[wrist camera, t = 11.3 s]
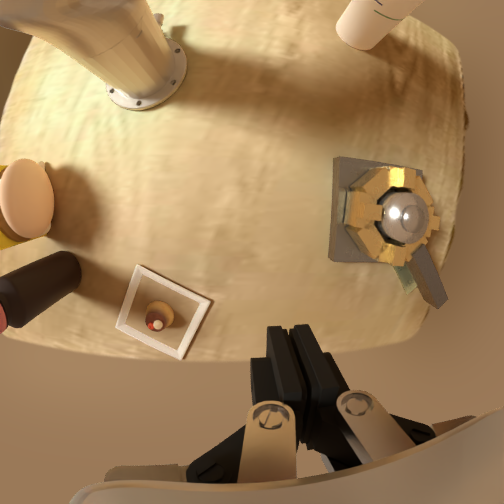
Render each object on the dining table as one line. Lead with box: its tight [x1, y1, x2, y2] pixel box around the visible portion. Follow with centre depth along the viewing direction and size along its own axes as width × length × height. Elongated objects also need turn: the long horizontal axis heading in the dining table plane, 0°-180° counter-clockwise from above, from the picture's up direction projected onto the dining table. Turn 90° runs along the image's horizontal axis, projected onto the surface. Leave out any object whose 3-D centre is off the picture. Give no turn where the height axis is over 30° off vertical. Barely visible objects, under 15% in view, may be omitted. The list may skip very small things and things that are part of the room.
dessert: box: [115, 264, 211, 360], centre depth 37 cm, size 12×12×5 cm
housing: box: [328, 157, 429, 295], centre depth 33 cm, size 20×18×10 cm
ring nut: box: [344, 166, 448, 309], centre depth 32 cm, size 22×12×6 cm, turn 40°
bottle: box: [0, 251, 81, 334], centre depth 27 cm, size 7×7×20 cm
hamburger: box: [0, 159, 54, 250], centre depth 28 cm, size 12×8×12 cm
